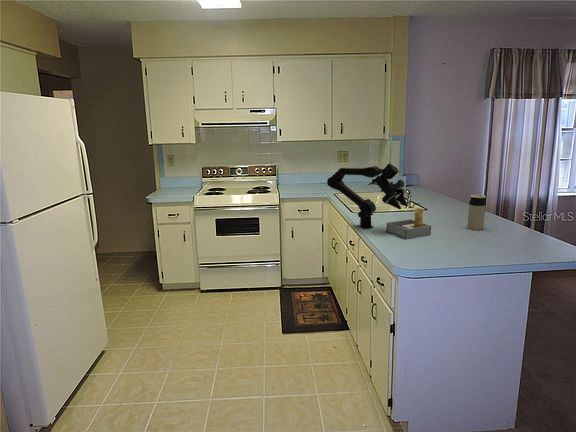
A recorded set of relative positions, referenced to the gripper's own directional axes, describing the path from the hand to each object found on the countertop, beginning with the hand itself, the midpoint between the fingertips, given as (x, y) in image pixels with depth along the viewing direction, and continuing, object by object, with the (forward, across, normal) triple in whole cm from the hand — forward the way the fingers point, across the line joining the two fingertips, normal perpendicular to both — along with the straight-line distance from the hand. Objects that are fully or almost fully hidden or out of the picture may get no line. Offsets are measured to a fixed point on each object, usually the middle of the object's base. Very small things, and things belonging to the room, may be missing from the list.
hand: (403, 207), depth 215 cm
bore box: (+12, -1, +7) cm, 14 cm away
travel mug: (+31, +27, -12) cm, 43 cm away
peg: (+15, 0, +3) cm, 15 cm away
